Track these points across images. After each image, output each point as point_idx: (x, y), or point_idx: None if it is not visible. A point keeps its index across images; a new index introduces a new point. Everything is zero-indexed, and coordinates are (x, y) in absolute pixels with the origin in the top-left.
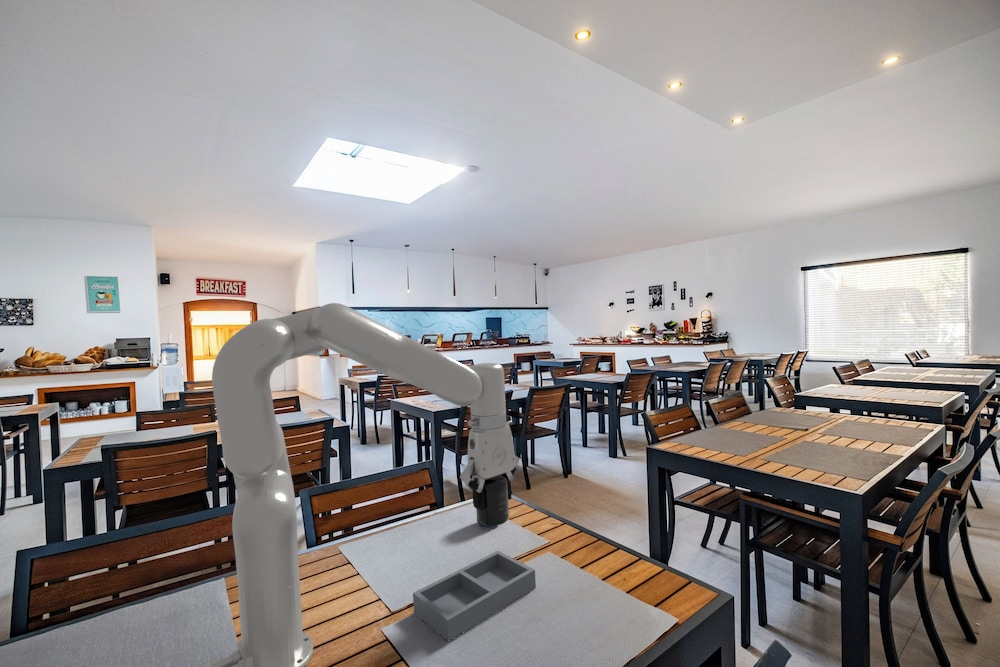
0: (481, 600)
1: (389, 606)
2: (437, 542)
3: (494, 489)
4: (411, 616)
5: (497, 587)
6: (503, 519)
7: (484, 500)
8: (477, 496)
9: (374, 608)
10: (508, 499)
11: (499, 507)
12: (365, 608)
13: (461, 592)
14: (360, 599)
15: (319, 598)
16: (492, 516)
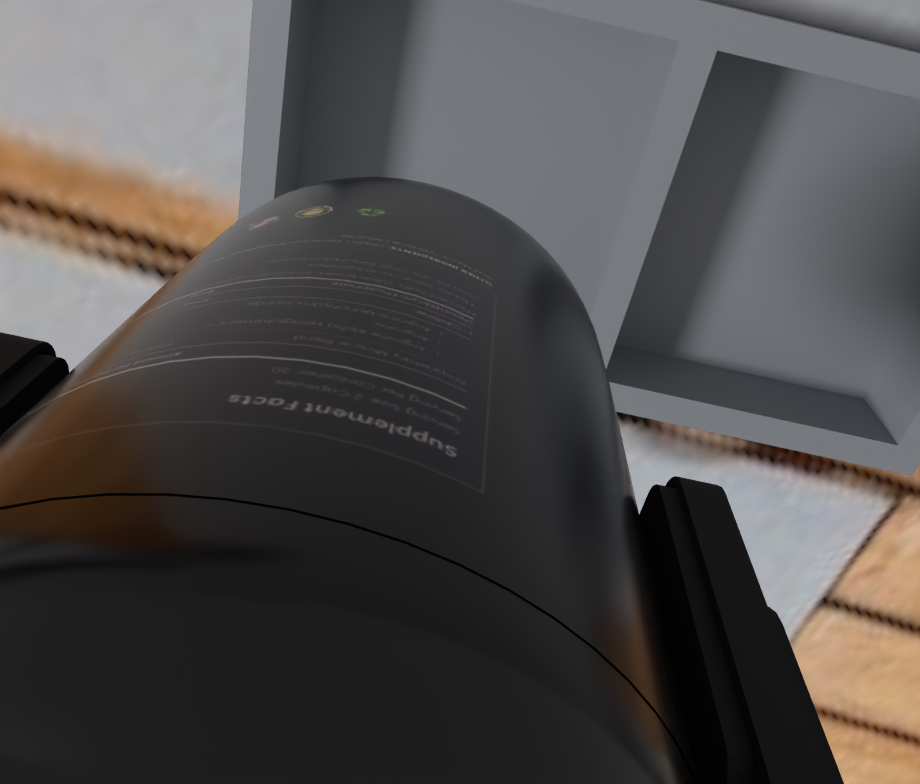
0: (845, 37)
1: (861, 534)
2: None
3: (585, 645)
4: None
5: (487, 130)
6: (425, 193)
7: (720, 597)
8: (839, 774)
9: (899, 576)
10: (53, 367)
11: (479, 298)
12: (912, 604)
13: (644, 297)
14: (859, 658)
15: (911, 773)
16: (579, 325)
